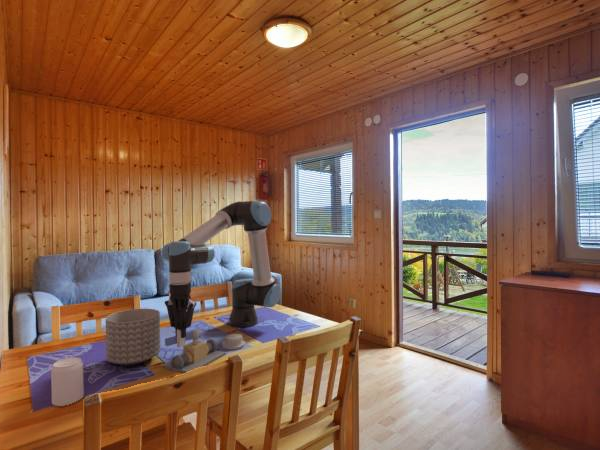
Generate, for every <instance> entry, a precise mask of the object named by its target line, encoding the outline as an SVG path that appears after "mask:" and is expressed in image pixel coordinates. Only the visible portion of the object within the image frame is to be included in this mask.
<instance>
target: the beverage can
mask: <svg viewBox="0 0 600 450" xmlns="http://www.w3.org/2000/svg"><path fill="white" fill-rule="evenodd" d="M50 372H51V374H50V375H51V376H50V377H51V404H52V405H53V406H55V407H56V406H57V407H66V406H65V405H67V406H70V405H69V404H71V405H73V404H75V403H77V402H79V401H80V400H82V398H83V397H84V363H83V361H82V359H81V358H80V357H75V356H74V357H67V358H62V359H59V360H56V361H55V362H54V363H53V365H52V367H51V369H50ZM78 400H79V401H78ZM76 401H77V402H76ZM74 402H75V403H74ZM72 403H73V404H72Z"/></svg>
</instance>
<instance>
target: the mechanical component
mask: <svg viewBox="0 0 600 450" xmlns="http://www.w3.org/2000/svg"><path fill="white" fill-rule="evenodd" d="M245 346H246V341H245V340H244V339H243V335H242V334H240V333H230V334H227V335H225V336H224V341H223V342H222V343H221V347H222V348H223V349H224V350H230V351H235V350H240V349H243V348H244V347H245Z"/></svg>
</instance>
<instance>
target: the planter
mask: <svg viewBox="0 0 600 450" xmlns="http://www.w3.org/2000/svg"><path fill="white" fill-rule="evenodd" d="M160 352H161V312H160V311H159V310H158V309H155V308H131V309H125V310H121V311H116V312H113V313H111V314H110V313H109V314H108V315H107V316H106V317H105V359H106V361H107V362H109V363H111V364H117V365H120V366H137V365H139V364H142V363H144V362H147V361H148V360H150V359H153V358H154V357H156V356H157V355H158V354H159V353H160Z"/></svg>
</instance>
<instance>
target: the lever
mask: <svg viewBox="0 0 600 450" xmlns="http://www.w3.org/2000/svg"><path fill="white" fill-rule="evenodd" d="M196 338H200V330H199V329H193V330H191V331H186V337H185V342H186V341H190V340H193V339H196ZM173 345H177V337H176V335H174V336H170V337H166V338H164V346H166V347H169V346H173Z"/></svg>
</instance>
